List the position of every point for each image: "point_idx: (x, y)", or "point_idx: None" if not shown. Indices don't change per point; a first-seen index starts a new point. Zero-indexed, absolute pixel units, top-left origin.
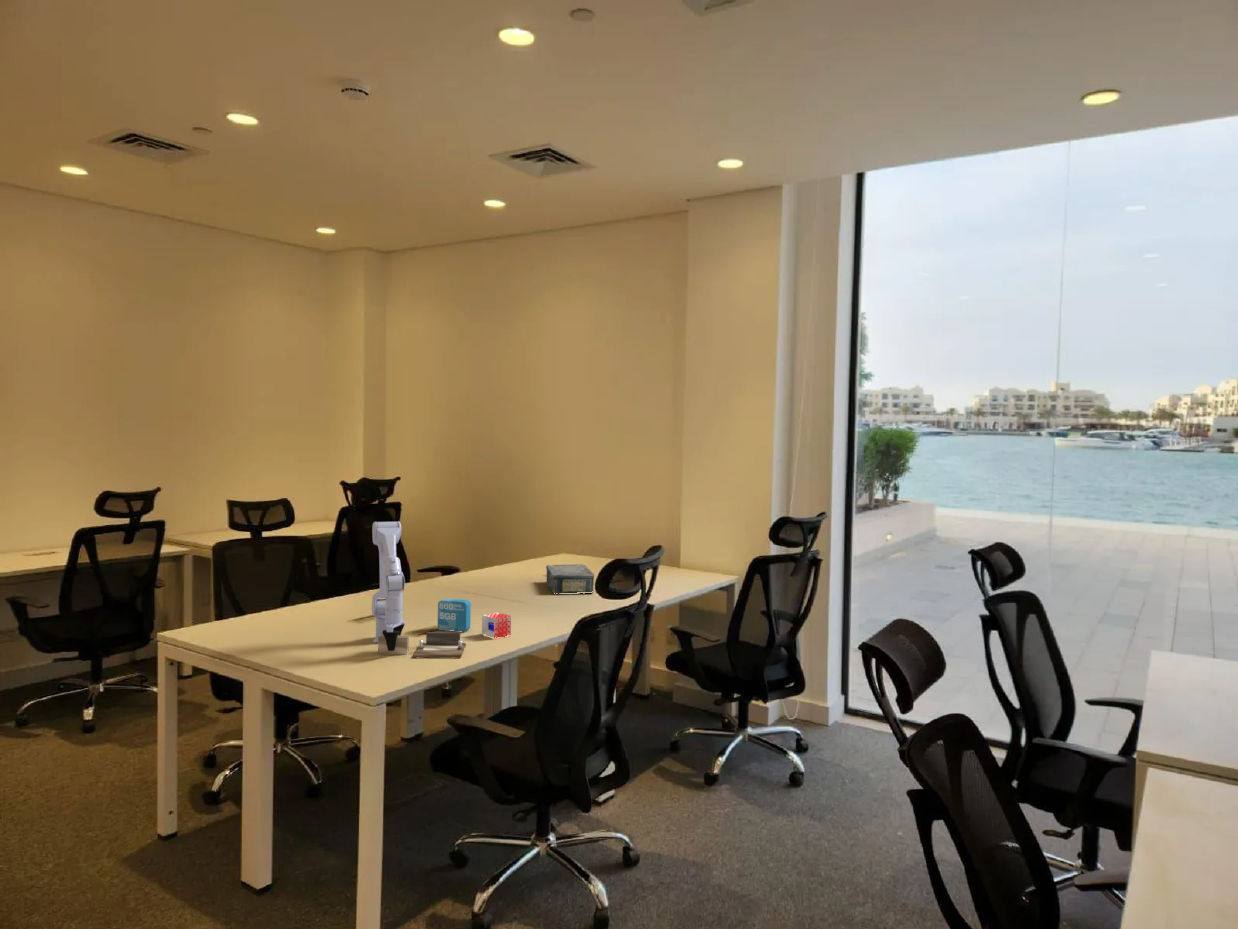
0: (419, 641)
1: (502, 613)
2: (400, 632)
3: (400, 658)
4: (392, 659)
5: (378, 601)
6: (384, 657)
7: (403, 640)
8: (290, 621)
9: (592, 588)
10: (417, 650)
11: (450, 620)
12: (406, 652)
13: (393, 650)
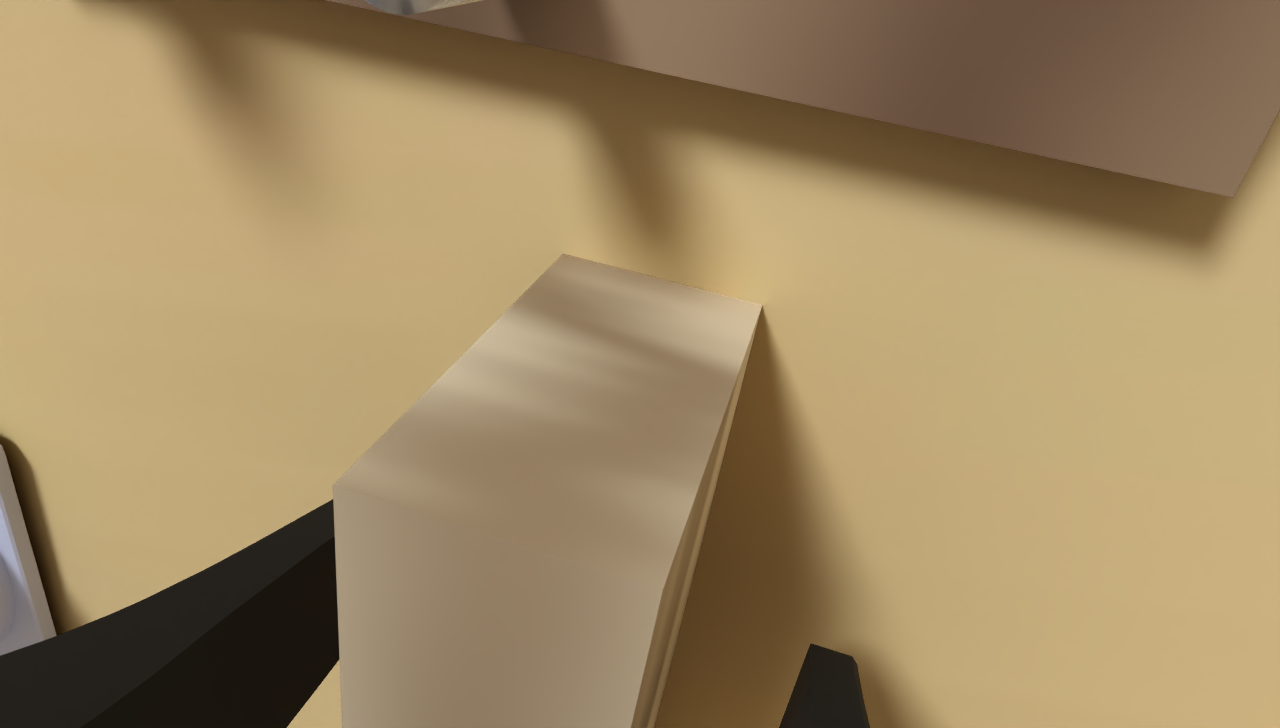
0: (436, 8)
1: None
2: (129, 703)
3: (1083, 479)
4: (1100, 627)
5: None
6: (880, 709)
7: (665, 619)
8: None
9: None
10: (707, 52)
11: None
12: (749, 340)
13: (854, 676)
